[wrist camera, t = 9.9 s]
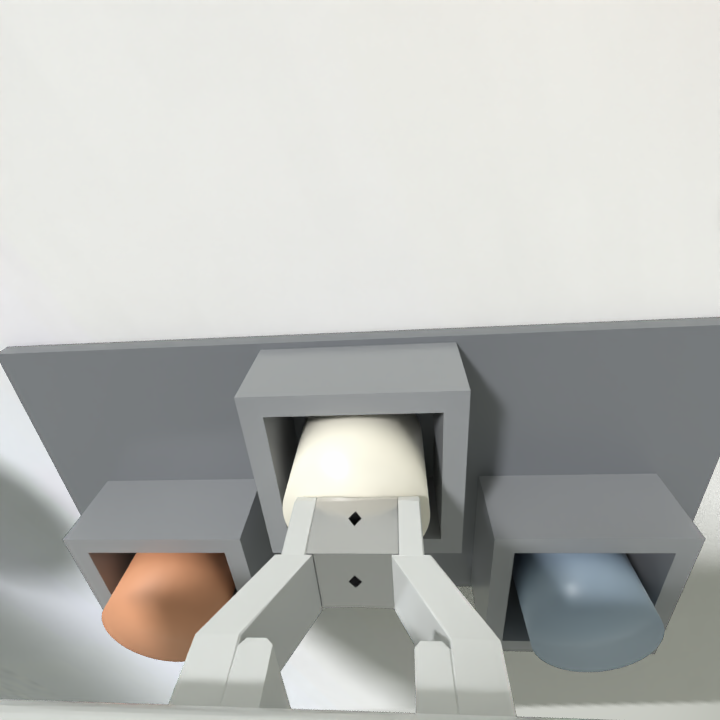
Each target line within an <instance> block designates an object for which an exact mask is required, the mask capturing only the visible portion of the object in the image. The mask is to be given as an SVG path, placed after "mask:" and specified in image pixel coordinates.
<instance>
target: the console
mask: <svg viewBox="0 0 720 720" xmlns="http://www.w3.org/2000/svg"><path fill="white" fill-rule="evenodd" d="M0 363H1V365H2V367H3V369H4V371H5V373H6V375H7V376H8V378H9V380H10V382H11V384H12V386H13V388H14V390H15V392H16V393H17V395H18V397H19V399H20V401H21V403H22V405H23V407H24V409H25V411H26V412H27V414H28V416H29V418H30V420H31V422H32V424H33V426H34V428H35V429H36V431H37V433H38V435H39V437H40V439H41V441H42V443H43V445H44V446H45V448H46V450H47V452H48V454H49V456H50V458H51V460H52V462H53V464H54V465H55V467H56V469H57V471H58V473H59V475H60V477H61V479H62V481H63V482H64V484H65V486H66V488H67V490H68V492H69V494H70V496H71V498H72V499H73V501H74V503H75V505H76V507H77V509H78V511H79V513H80V515H81V516H80V518H79V519H78V520H77V522H76V523H75V524H74V525H73V527H72V528H71V529H70V531H69V532H68V533H67V534H66V536H65V537H64V538H63V541H64V543H65V545H66V547H67V548H68V550H69V552H70V554H71V555H72V557H73V559H74V561H75V562H76V564H77V566H78V567H79V569H80V571H81V573H82V574H83V576H84V578H85V580H86V581H87V583H88V585H89V586H90V588H91V590H92V592H93V593H94V595H95V597H96V599H97V600H98V602H99V604H100V605H101V607H102V609H103V610H104V608H105V606H106V604H107V603H108V601H109V599H110V597H111V596H112V594H113V592H114V590H115V589H116V587H117V585H118V584H119V582H120V580H121V578H122V577H123V575H124V573H125V571H126V570H127V568H128V566H129V565H130V563H131V561H132V559H133V558H134V556H135V554H136V553H225V556H226V559H227V562H228V565H229V568H230V571H231V574H232V577H233V580H234V583H235V586H236V587H235V590H234V593H233V596H234V595H235V594H236V593H237V592H238V591H239V590H240V589H241V588H242V587H243V586H244V585H245V584H246V583H247V582H248V581H249V580H250V579H251V578H252V577H253V576H254V575H255V574H256V573H257V572H258V571H259V570H260V569H261V568H262V567H263V566H264V565H265V564H266V563H267V562H268V561H269V560H270V559H271V558H272V557H273V556H274V555H278V554H281V553H282V549H283V546H284V542H285V538H286V534H287V530H288V526H287V524H286V522H285V519H284V516H283V499H284V495H285V492H286V488H287V484H288V481H289V477H290V474H291V470H292V466H293V463H294V459H295V455H296V452H297V448H298V445H299V441H300V437H301V434H302V430H303V426H304V423H305V419H306V417H307V416H333V415H372V414H411V413H415V415H416V416H417V418H418V420H419V422H420V426H421V430H422V439H423V449H424V458H425V468H426V478H427V487H428V497H429V506H430V522H429V525H428V528H427V530H426V532H425V534H424V536H423V544H424V555H431V556H432V557H433V558H434V560H435V561H436V562H437V563H438V564H439V566H440V567H441V568H442V569H443V571H444V572H445V573H446V574H447V576H448V577H449V578H450V579H451V580H452V582H453V583H454V584H455V585H456V586H472V592H473V598H474V603H475V609H476V611H477V613H478V614H479V615H480V616H481V617H482V619H483V620H484V621H485V622H486V624H487V625H488V626H489V627H490V629H491V630H492V631H493V632H494V633H495V635H496V636H497V637H498V638H499V640H500V641H501V645H502V649H503V651H533V649H532V646H531V643H530V639H529V635H528V632H527V628H526V624H525V620H524V617H523V613H522V609H521V606H520V602H519V598H518V595H517V591H516V587H515V583H514V580H513V576H512V568H513V561H514V553H625V554H626V555H627V557H628V559H629V561H630V563H631V565H632V567H633V568H634V570H635V572H636V574H637V576H638V578H639V579H640V581H641V583H642V585H643V587H644V589H645V590H646V592H647V594H648V596H649V598H650V600H651V602H652V603H653V605H654V607H655V609H656V611H657V613H658V614H659V616H660V618H661V620H662V622H663V624H664V632H665V629H666V627H667V625H668V623H669V620H670V618H671V616H672V614H673V611H674V609H675V607H676V604H677V602H678V600H679V598H680V595H681V593H682V591H683V589H684V586H685V584H686V582H687V579H688V577H689V575H690V573H691V570H692V568H693V566H694V564H695V561H696V559H697V557H698V555H699V552H700V550H701V548H702V545H703V543H704V541H705V537H704V536H703V535H702V533H701V532H700V531H699V529H698V528H697V527H696V525H695V524H694V523H693V520H694V518H695V515H696V513H697V510H698V508H699V506H700V503H701V501H702V498H703V496H704V493H705V491H706V489H707V486H708V484H709V481H710V479H711V476H712V474H713V471H714V469H715V467H716V464H717V462H718V459H719V457H720V317H709V318H685V319H661V320H637V321H613V322H589V323H565V324H541V325H517V326H494V327H470V328H446V329H422V330H398V331H374V332H350V333H326V334H302V335H278V336H254V337H230V338H206V339H182V340H158V341H134V342H110V343H86V344H62V345H38V346H14V347H7V348H5V349H4V350H2V351H0ZM233 596H232V597H233ZM657 648H658V647H657ZM657 648H656V649H655V650H654V651H653V652H652V653H650V654H655V652H656V650H657Z"/></svg>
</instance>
